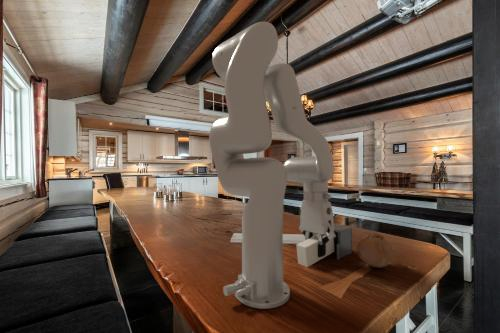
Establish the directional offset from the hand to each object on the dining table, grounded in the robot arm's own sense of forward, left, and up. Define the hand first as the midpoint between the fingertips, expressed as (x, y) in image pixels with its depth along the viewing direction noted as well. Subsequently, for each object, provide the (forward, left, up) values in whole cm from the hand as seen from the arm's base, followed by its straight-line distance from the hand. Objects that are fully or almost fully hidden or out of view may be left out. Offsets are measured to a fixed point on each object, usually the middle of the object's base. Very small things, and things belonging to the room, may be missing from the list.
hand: (316, 253), depth 73 cm
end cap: (+11, 0, -2) cm, 11 cm away
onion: (+9, -14, -2) cm, 17 cm away
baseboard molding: (+2, +25, -3) cm, 25 cm away
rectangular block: (0, 0, -1) cm, 1 cm away
